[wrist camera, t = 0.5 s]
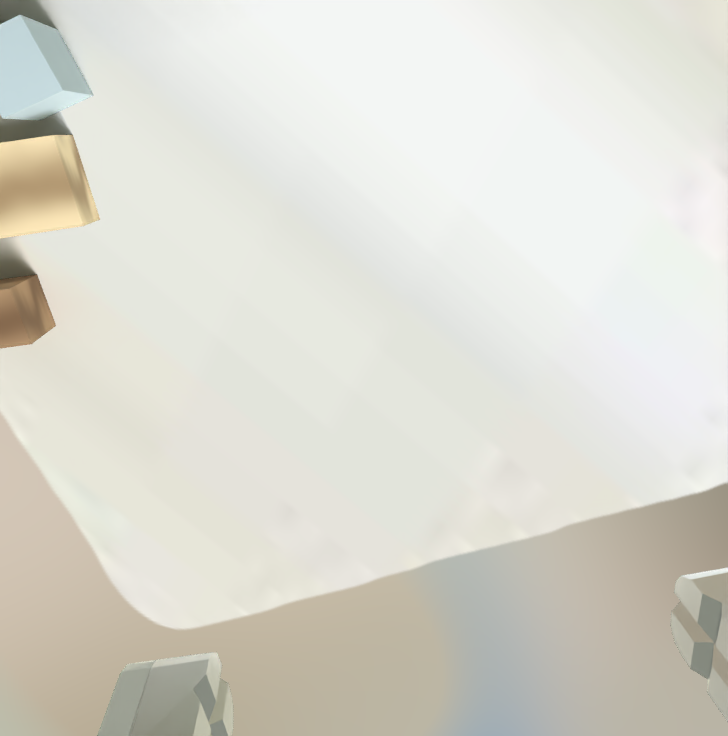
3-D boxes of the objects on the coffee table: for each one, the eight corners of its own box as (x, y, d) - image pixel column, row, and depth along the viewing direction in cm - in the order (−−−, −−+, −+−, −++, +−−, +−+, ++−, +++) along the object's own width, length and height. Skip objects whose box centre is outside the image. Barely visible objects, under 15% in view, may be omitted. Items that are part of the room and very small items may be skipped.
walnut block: (-18, 281, 50) (-51, 297, 46) (37, 274, 50) (9, 288, 46) (3, 332, 52) (-27, 352, 48) (56, 325, 52) (31, 343, 48)
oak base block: (-10, 146, 46) (-38, 148, 42) (73, 134, 46) (52, 135, 43) (22, 230, 49) (-1, 238, 45) (101, 219, 49) (83, 226, 45)
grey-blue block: (2, 56, 44) (-43, 45, 38) (57, 29, 43) (20, 14, 38) (40, 120, 45) (2, 118, 40) (93, 95, 45) (63, 90, 40)
